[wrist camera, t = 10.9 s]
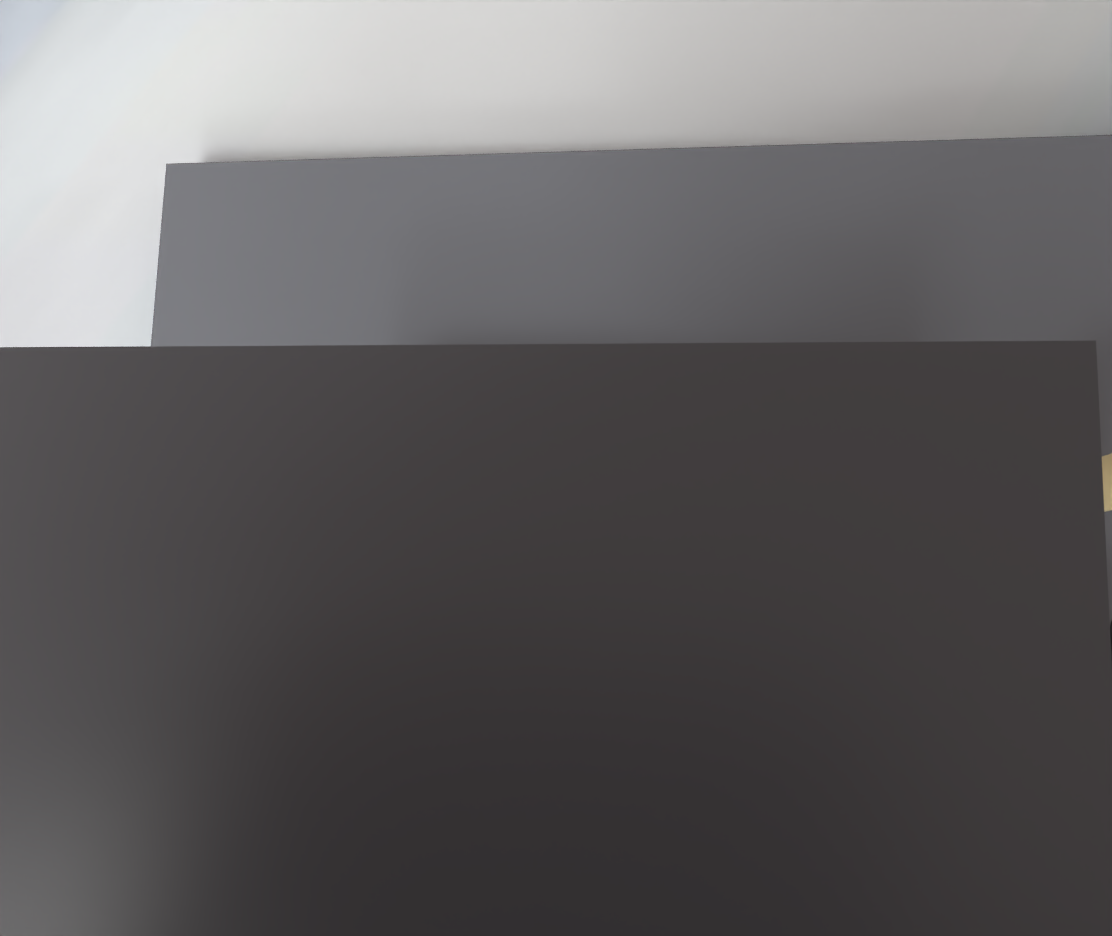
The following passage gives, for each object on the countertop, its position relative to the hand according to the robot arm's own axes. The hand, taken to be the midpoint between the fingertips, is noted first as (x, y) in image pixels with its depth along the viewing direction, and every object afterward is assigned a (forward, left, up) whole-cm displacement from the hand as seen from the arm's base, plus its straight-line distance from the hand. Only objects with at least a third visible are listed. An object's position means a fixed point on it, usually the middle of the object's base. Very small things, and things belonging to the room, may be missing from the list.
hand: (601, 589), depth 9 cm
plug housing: (0, -1, -7) cm, 7 cm away
